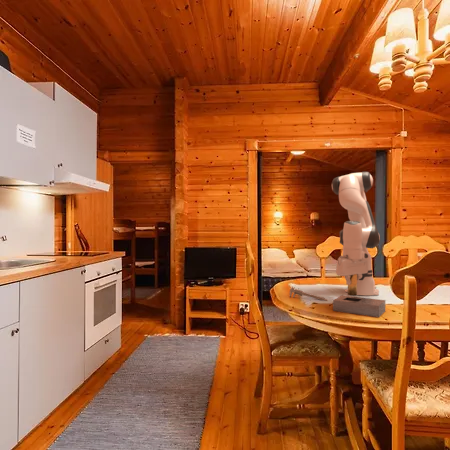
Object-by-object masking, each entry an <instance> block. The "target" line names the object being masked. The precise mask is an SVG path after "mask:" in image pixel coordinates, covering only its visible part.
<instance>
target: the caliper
mask: <svg viewBox="0 0 450 450" xmlns="http://www.w3.org/2000/svg"><path fill="white" fill-rule="evenodd" d="M292 294H293V295H292ZM296 295H298V296H300V297H303V296H305V297H308V298H313V299H316V300H319V301H328V299H327V298H325V297H322V296H318V295H314V294H311V293H308V292H304V291H302V290H299V289H296V288H295V287H293V286H291V288H290V289H289V298H292V299H293V298H295V297H296Z"/></svg>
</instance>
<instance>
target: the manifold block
mask: <svg viewBox="0 0 450 450" xmlns="http://www.w3.org/2000/svg"><path fill="white" fill-rule="evenodd" d="M332 312H338V313H346V314H353V315H359V316H360V315H361V316H366V315H367V316H369V317H373V318H374V317H375V318H380V317H382V315H383V314H384V313H385V312H386V299H377V298H370V297H360V296H350V295H343V294H342V295H340V296H338V297H336V298H334V299H332Z"/></svg>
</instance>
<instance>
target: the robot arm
mask: <svg viewBox="0 0 450 450" xmlns="http://www.w3.org/2000/svg"><path fill="white" fill-rule="evenodd" d="M373 184H374V179H373V176H372V175H371V173H370V172H369V171H362V172H351V173H349V174H345V175H341V176H337V177H334V178H333V180H332V182H331V190H332V192H333V193H334V194H335V195H338V201H339V204H340V205H341V207H342V208H344V209H345V210H347V214H348V215H347V216H348V219H349V220H346V221H345V222H344V223H343V229H341V230H340V231H339V244H341V245H342V255H340V256H339V257H338V258H337V262H336V268H335V269H336V271H335V274H336V276H341V277H344V279H345V281H346V282H345V283H346V285H347V286H348V285H351V284H352V283H351V282H352V281H350V275H354V274H357V296H379V295H380V290H379V289H377V286H376V282H375V279H374V277H373V274H374V273H373V269H372V265H373V264H372V261H373V260H372V259H373V258H372V255H371V254H370V252H369V249H374V248H376V247H377V246H379V244H380V240H381V238H380V237H381V236H380V233H379V230H378V228H377V226H376V225H377V224H376V222H375V219H374V215H373V213H372V212H373V211H372V209H371V206H370V204H369V201H367V196H366V193H368V191H370V190H371V188H372V187H373ZM344 291H345V293H348V288H347V289H345V290H344Z"/></svg>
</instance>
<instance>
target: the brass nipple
mask: <svg viewBox="0 0 450 450" xmlns="http://www.w3.org/2000/svg"><path fill="white" fill-rule="evenodd" d="M350 281H352V282H351V283H352V284H351V285H347V289H348V292H347V296H352V297H358V295H357V274H354V275H350Z"/></svg>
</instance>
